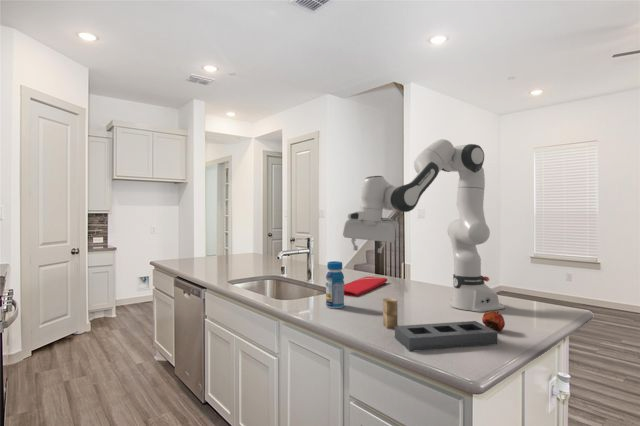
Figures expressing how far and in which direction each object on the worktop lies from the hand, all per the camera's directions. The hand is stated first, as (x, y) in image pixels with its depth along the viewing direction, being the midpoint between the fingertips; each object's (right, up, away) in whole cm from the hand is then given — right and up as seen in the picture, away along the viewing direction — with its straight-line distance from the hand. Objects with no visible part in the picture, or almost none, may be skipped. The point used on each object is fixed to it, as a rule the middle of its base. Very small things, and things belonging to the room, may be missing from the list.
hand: (367, 251), depth 143 cm
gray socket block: (+23, -27, -23) cm, 42 cm away
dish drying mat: (+4, -28, +61) cm, 67 cm away
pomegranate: (+43, -27, -13) cm, 53 cm away
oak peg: (+8, -27, -7) cm, 29 cm away
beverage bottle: (-12, -27, +22) cm, 37 cm away
